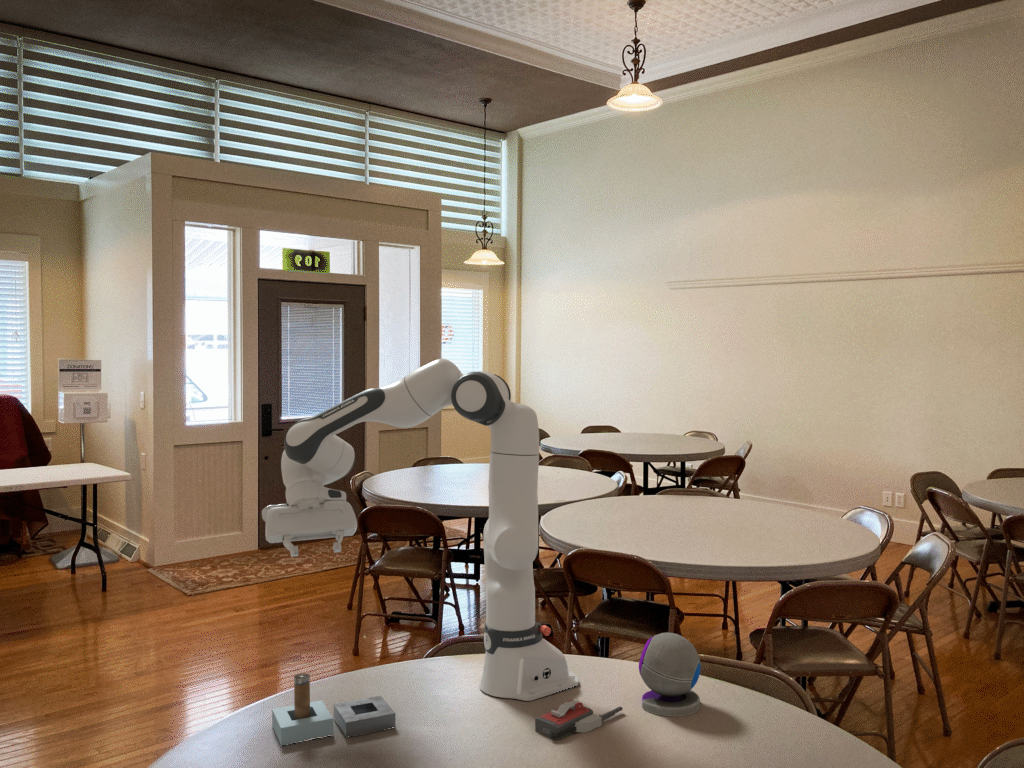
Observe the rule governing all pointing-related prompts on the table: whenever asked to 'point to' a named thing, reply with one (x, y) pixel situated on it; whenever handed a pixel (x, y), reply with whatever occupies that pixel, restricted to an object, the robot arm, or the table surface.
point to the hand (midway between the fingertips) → (316, 553)
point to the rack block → (302, 723)
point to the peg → (302, 696)
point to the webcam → (670, 675)
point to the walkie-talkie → (570, 720)
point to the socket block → (364, 716)
